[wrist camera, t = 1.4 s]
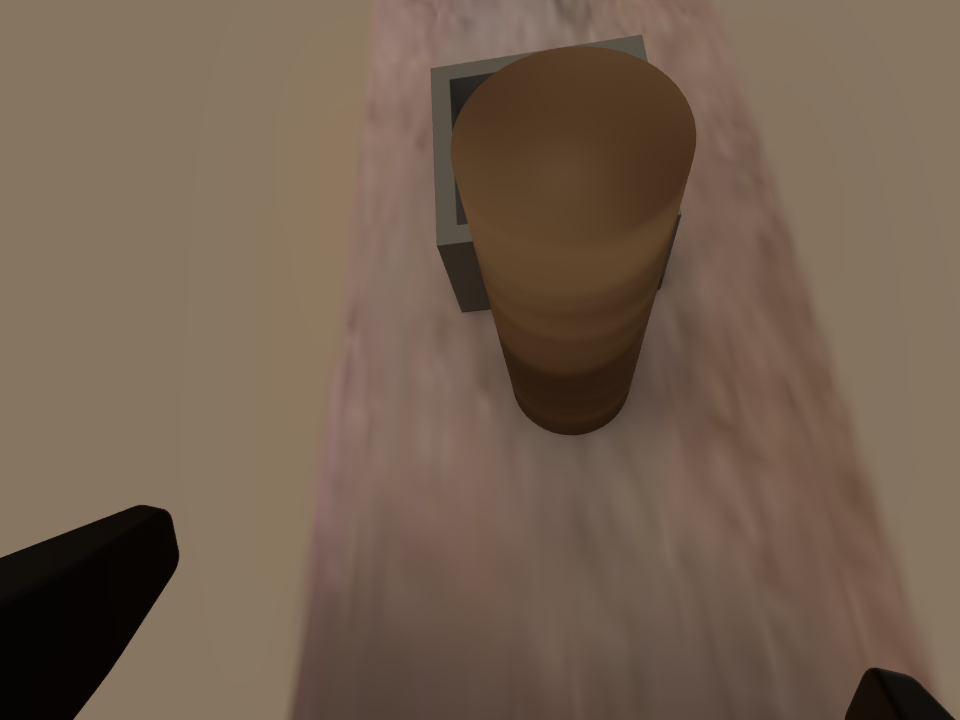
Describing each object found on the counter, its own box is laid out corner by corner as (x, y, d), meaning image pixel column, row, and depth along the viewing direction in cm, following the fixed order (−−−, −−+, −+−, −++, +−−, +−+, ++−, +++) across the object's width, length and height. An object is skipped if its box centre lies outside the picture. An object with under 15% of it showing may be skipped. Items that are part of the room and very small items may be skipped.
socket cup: (659, 289, 24) (681, 214, 19) (461, 312, 25) (436, 245, 20) (629, 132, 27) (642, 34, 22) (453, 157, 28) (430, 68, 23)
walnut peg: (600, 454, 22) (638, 276, 10) (492, 405, 23) (407, 193, 11) (647, 352, 23) (732, 79, 11) (542, 309, 24) (515, 24, 12)
